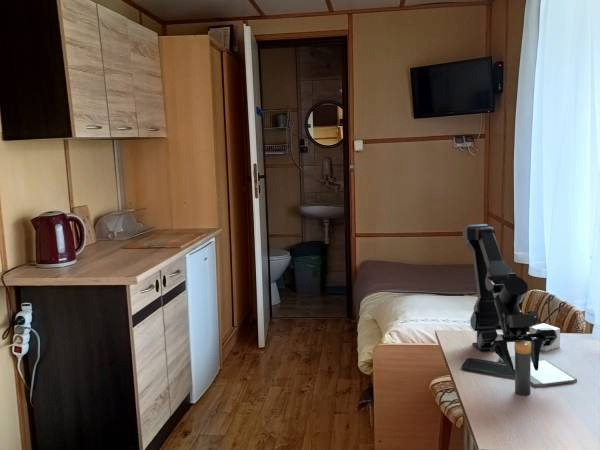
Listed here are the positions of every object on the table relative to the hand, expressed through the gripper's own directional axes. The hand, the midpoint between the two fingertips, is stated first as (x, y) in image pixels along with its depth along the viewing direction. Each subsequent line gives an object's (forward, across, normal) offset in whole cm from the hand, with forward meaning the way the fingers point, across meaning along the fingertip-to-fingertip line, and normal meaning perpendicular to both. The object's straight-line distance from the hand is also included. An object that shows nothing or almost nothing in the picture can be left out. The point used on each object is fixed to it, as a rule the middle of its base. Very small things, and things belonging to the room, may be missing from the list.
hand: (524, 370), depth 132 cm
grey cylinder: (+4, 0, +6) cm, 7 cm away
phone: (-6, -3, +16) cm, 18 cm away
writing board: (-5, +8, +15) cm, 18 cm away
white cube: (-17, +18, +27) cm, 37 cm away
